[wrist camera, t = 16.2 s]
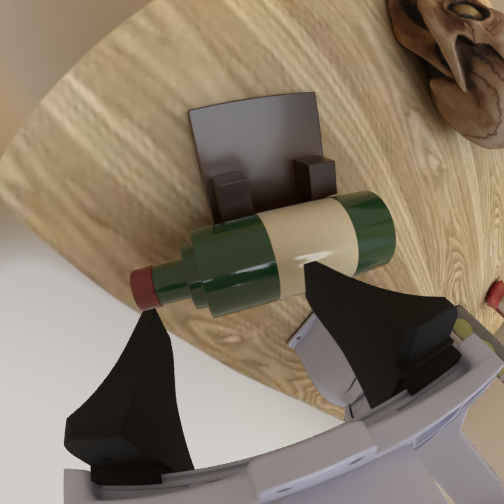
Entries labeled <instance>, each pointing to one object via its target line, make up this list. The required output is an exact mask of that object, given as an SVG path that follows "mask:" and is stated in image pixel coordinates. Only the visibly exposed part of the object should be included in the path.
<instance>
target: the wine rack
mask: <svg viewBox="0 0 504 504" xmlns="http://www.w3.org/2000/svg"><path fill="white" fill-rule="evenodd" d="M188 116H189V121H190V126H191V131H192V135H193V140H194V144H195V149H196V153H197V158H198V162H199V166H200V171H201V175H202V179H203V184H204V188H205V192H206V196H207V200H208V205H209V209H210V213H211V217H212V221H213V224H216V223H220V222H224V221H228V220H232V219H236V218H241V217H245V216H249V215H253V214H256V213H259V212H264V211H268V210H272V209H277V208H281V207H286V206H290V205H294V204H299V203H304V202H308V201H313V200H318V199H322V198H326V196H329V195H334V194H337V187H336V172H335V161H334V160H331V159H328V158H325V157H323V151H322V141H321V133H320V124H319V116H318V109H317V102H316V95H315V92H304V93H292V94H282V95H273V96H265V97H257V98H250V99H244V100H238V101H232V102H226V103H221V104H216V105H211V106H206V107H202V108H197V109H193V110H189V111H188Z"/></svg>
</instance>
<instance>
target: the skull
mask: <svg viewBox="0 0 504 504" xmlns="http://www.w3.org/2000/svg"><path fill="white" fill-rule="evenodd" d="M388 8H389V13H390V15H391V17H392V24H393V31H394V35H395V37H396V39H397V40H398V42H400V43H401V44H402V45H403V46H404V47H406V48H407V49H409V50H411V51H413V52H414V53H416V54H418V55H419V56H421V57H423V58H424V60H425V62H426V64H427V67H428V69H429V72H430V82H429V84H430V94H431V98H432V100H433V102H434V103H435V105H436V107H437V108H438V110H439V111H440V113H441V114H442V116H443V117H444V119H445V120H446V121H448V122H449V123H450V124H451V125H452V126H453V127H454V128H455V129H456V130H457V131H458V132H459V133H460V134H461V135H462V136H463V137H465V138H466V139H468V140H469V141H471V142H473V143H475V144H477V145H479V146H482V147H485V148H488V149H502V148H504V14H503V13H502V12H499V11H497V10H494V9H491V8H488V7H486V6H484V5H483V4H482V3H481V2H480V1H479V0H388Z"/></svg>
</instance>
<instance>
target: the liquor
mask: <svg viewBox="0 0 504 504" xmlns="http://www.w3.org/2000/svg"><path fill="white" fill-rule="evenodd" d="M487 306H490V307H492V308H493V309H494V310H496V311H497V312H498V313H499V314H500V315H501V316H502V317H503V318H504V283H503V281H502V280H501V281H498V282H495V283H494V284H493V285H492V287H491V288H490V290H489V292H488V294H487Z"/></svg>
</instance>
